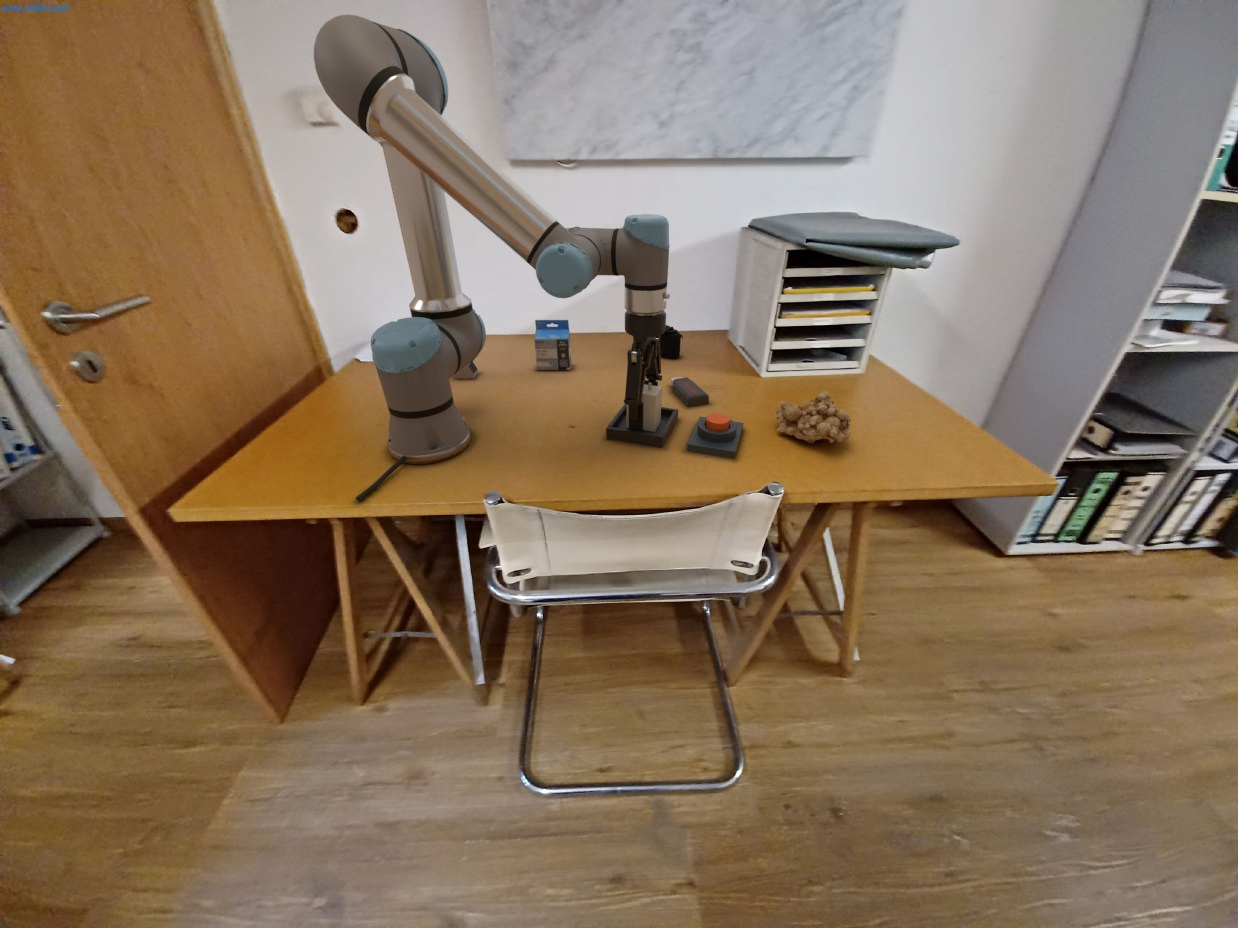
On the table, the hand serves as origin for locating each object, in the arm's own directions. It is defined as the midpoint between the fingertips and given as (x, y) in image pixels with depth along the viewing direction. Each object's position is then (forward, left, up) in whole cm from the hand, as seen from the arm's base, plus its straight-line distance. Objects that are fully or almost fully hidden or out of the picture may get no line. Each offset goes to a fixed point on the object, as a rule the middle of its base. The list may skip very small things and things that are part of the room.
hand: (643, 420), depth 102 cm
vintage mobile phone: (+13, +51, -2) cm, 53 cm away
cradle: (0, 0, -2) cm, 2 cm away
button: (0, -15, +1) cm, 15 cm away
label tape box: (+25, +32, -2) cm, 41 cm away
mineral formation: (+7, -33, -2) cm, 34 cm away
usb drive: (+19, -5, -2) cm, 20 cm away
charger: (0, 0, -1) cm, 1 cm away
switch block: (0, -15, -2) cm, 15 cm away
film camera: (+46, +9, -2) cm, 47 cm away
